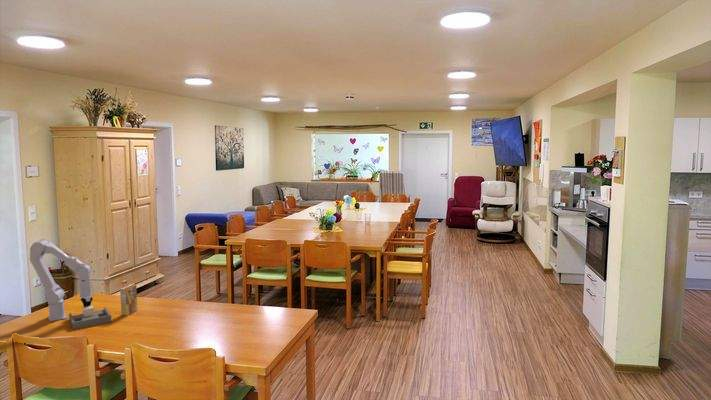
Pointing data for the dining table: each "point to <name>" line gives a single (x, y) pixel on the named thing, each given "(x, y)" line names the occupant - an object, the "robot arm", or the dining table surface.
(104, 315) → the trap box
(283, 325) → the dining table surface
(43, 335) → the dining table surface
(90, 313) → the cream block
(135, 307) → the candy box
